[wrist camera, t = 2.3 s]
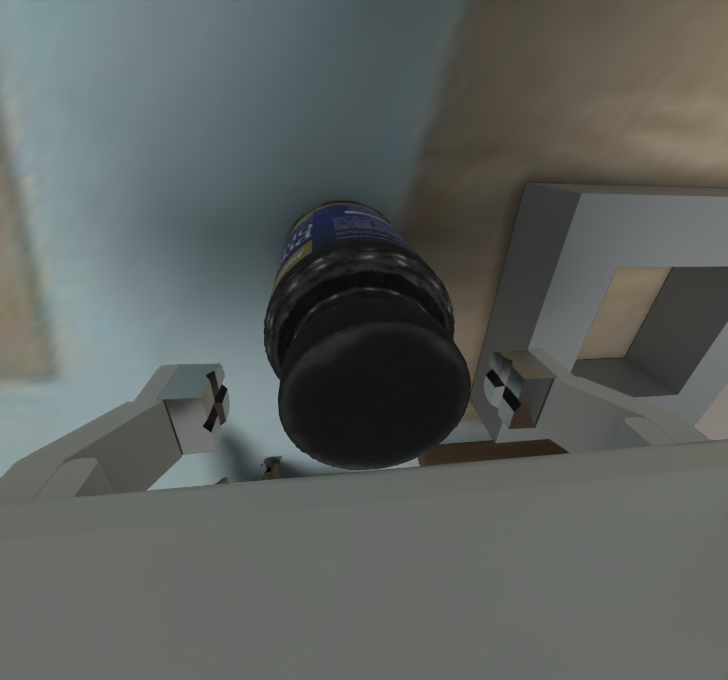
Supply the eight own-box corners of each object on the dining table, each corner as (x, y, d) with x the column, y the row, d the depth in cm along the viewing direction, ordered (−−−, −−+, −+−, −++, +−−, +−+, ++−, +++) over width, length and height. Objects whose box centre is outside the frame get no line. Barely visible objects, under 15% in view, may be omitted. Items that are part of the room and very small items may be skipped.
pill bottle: (287, 188, 15) (243, 264, 6) (413, 210, 16) (548, 302, 7) (280, 309, 18) (244, 490, 9) (387, 320, 19) (456, 489, 10)
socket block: (525, 182, 16) (581, 193, 13) (762, 189, 18) (866, 200, 15) (469, 399, 23) (495, 443, 20) (642, 388, 25) (693, 427, 22)
